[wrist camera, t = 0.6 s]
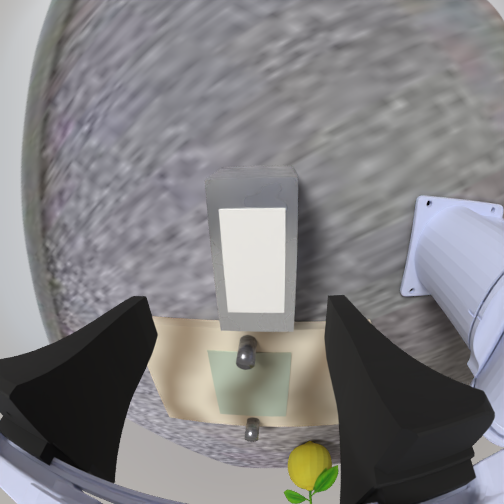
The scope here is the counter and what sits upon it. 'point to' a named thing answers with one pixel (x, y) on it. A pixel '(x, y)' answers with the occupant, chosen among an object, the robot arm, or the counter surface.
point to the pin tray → (243, 375)
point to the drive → (254, 246)
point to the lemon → (310, 470)
